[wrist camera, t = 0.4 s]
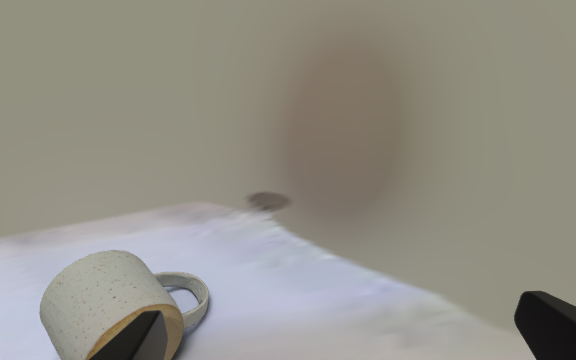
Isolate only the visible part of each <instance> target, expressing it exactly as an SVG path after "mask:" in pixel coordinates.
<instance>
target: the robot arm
mask: <svg viewBox="0 0 576 360" xmlns="http://www.w3.org/2000/svg"><path fill="white" fill-rule="evenodd" d="M514 321H515V324H516V326H517V328H518V330H519V331H520V333H521V335H522V336H523V338H524V340H525V341H526V343H527V345H528V346H529V348H530V350H531V351H532V353H533V355H534V356H535V358H536V360H576V306H573V305H571V304H569V303H567V302H565V301H563V300H561V299H558V298H556V297H554V296H552V295H550V294H548V293H546V292H542V291H526V292H524V293H523V294H522V295H521V297H520V300H519V303H518V306H517V309H516V311H515V315H514ZM167 343H168V334H167V329H166V325H165V320H164V316H163V313H162V311H160V310H149V311H144V312H142V313H140V314H139V315H138V316H137V317H136V318H135V319H134V320H133V321H131V322H130V323H129V324H128V325H127V326H126V327H125V328H123V329H122V330H121V331H120V332H119V333H118V334H117V335H116V336H114V337H113V338H112V339H111V340H110V341H109V342H108V343H106V344H105V345H104V346H103V347H102V348H101V349H100V350H99V351H97V352H96V353H95V354H94V355H93V356H92V357H91V358H89V359H88V360H164V357H165V353H166V348H167Z"/></svg>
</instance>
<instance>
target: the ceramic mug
mask: <svg viewBox="0 0 576 360" xmlns="http://www.w3.org/2000/svg"><path fill="white" fill-rule="evenodd" d="M173 286H176V287H184V288H188V289H189V290H191V291H192V292H193V293H194V294H195V296H196V297H197V298H198V302H199V303H200V305H199V306H197V307H196V308H194V309H193V310H191V311H188V312H186V313H184V314H181V312H180V310H179V308H178V306H177V304H176V302H175V301H174V299H173V298H172V297H171V296H170V294H169V293H168V292H167V291H166V290H165V289H164V288H163V287H173ZM208 300H209V291H208V288H207V286H206V285H205V283H204V282H203V281H202V280H201V279H199V278H198V277H196V276H194V275H192V274H188V273H184V272H162V273H157V274H152V273H151V271H150V270H149V269H148V267H147V266H146V265H145V263H144V262H143V261H142V260H141V259H140V258H138V257H137V256H135V255H133V254H131V253H129V252H126V251H118V250H111V251H103V252H98V253H94V254H91V255H88V256H86V257H84V258H82V259H79V260H78V261H76V262H74V263H73V264H71V265H70V266H68V267H67V268H65V269H64V270H63V271H62V272H61V273H60V274H58V275H57V276H56V277H55V278H54V279H53V281H52V282H51V283H50V284H49V286H48V287H47V289H46V291H45V293H44V295H43V297H42V301H41V304H40V318H41V322H42V324H43V326H44V327H45V329H46V331H47V333H48V335H49V337H50V339H51V341H52V343H53V345H54V347H55V349H56V351H57V353H58V355H59V356H60V358H61V360H88V359H89V358H91V357H92V356H93V355H94V354H95V353H96V352H97V351H99V350H100V349H101V348H102V347H103V346H104V345H105V344H106V343H108V342H109V341H110V340H111V339H112V338H113V337H114V336H116V335H117V334H118V333H119V332H120V331H121V330H122V329H123V328H125V327H126V326H127V325H128V324H129V323H130V322H131V321H133V320H134V319H135V318H136V317H137V316H138V315H139V314H140V313H142V312H144V311H149V310H160V311H162V313H163V316H164V320H165V325H166V329H167V334H168V343H167V348H166V353H165V357H164V360H171V359H172V357H173V356H174V354H175V352H176V351H177V348H178V346H179V344H180V342H181V339H182V335H183V329H185V328H188V327H190V326H192V325H194V324H195V323H196V322H197V321H199V320H200V319H201V318H202V317H203V316H204V314H205V312H206V310H207V306H208Z"/></svg>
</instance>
